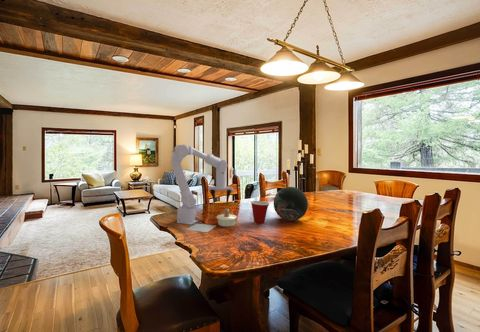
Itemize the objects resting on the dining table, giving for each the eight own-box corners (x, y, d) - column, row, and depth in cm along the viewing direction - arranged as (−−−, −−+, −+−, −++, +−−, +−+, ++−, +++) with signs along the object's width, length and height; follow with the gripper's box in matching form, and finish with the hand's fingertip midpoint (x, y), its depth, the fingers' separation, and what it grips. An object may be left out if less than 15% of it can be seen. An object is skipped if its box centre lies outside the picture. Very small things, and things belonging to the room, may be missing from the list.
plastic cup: (271, 224, 148) (272, 203, 147) (253, 225, 145) (253, 204, 145) (265, 219, 158) (265, 199, 158) (248, 220, 156) (248, 200, 155)
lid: (213, 219, 142) (213, 210, 142) (221, 214, 153) (221, 206, 152) (232, 221, 139) (232, 212, 138) (239, 216, 149) (239, 208, 149)
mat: (185, 230, 135) (185, 229, 135) (196, 224, 146) (196, 223, 146) (207, 233, 131) (207, 232, 131) (216, 226, 143) (216, 225, 143)
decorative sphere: (297, 215, 170) (298, 184, 169) (314, 223, 151) (315, 188, 149) (268, 217, 164) (268, 185, 163) (281, 226, 145) (282, 189, 144)
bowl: (216, 226, 143) (216, 218, 143) (222, 222, 152) (222, 215, 152) (231, 227, 140) (231, 220, 140) (237, 223, 149) (237, 216, 149)
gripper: (207, 180, 154) (207, 203, 155) (232, 180, 153) (232, 204, 154) (209, 179, 161) (209, 201, 162) (233, 179, 160) (233, 201, 161)
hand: (220, 202), depth 158 cm, fingers open, 7 cm apart
